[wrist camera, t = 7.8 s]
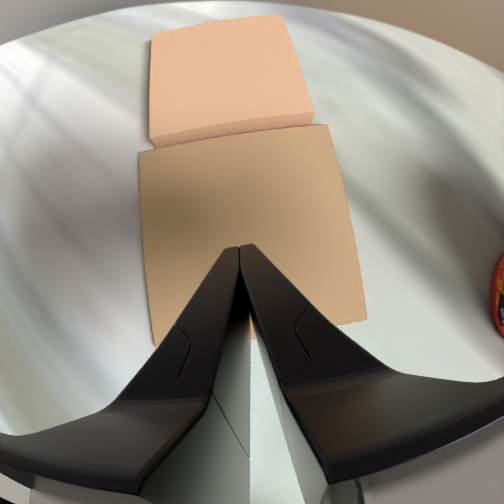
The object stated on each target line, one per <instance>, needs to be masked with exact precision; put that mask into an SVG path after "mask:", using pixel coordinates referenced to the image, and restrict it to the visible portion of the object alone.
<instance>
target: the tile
mask: <svg viewBox="0 0 504 504" xmlns="http://www.w3.org/2000/svg"><path fill="white" fill-rule="evenodd" d="M313 115H314V109H313V106H312V103H311V99H310V96H309V93H308V90H307V86H306V83H305V80H304V77H303V74H302V71H301V68H300V65H299V62H298V59H297V56H296V53H295V50H294V48H293V45H292V42H291V39H290V37H289V34H288V31H287V28H286V26H285V23H284V20H283V18H282V15H281V14H276V15H263V16H253V17H244V18H236V19H229V20H222V21H216V22H210V23H204V24H199V25H194V26H189V27H184V28H180V29H176V30H171V31H167V32H163V33H159V34H155V35H152V43H151V62H150V94H149V138H150V140H151V141H152V143H153V144H154V146H155V147H156V149H159V148H163V147H168V146H172V145H177V144H182V143H187V142H192V141H197V140H202V139H208V138H213V137H219V136H225V135H231V134H237V133H244V132H251V131H258V130H265V129H273V128H281V127H290V126H300V125H310V124H311V123H312V119H313Z"/></svg>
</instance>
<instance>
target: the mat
mask: <svg viewBox="0 0 504 504" xmlns="http://www.w3.org/2000/svg"><path fill="white" fill-rule="evenodd" d="M139 182H140V208H141V226H142V240H143V253H144V264H145V274H146V284H147V293H148V301H149V309H150V317H151V324H152V331H153V338H154V344H155V350H156V349H157V348H158V346H159V345H160V343H161V342H162V340H163V339H164V338H165V336H166V335H167V333H168V332H169V330H170V329H171V327H172V326H173V325H175V321H176V320H177V318H178V317H179V315H180V314H181V312H182V311H183V309H184V308H185V306H186V305H187V303H188V302H189V300H190V299H191V297H192V296H193V294H194V293H195V291H196V290H197V288H198V287H199V285H200V284H201V282H202V281H203V279H204V278H205V276H206V275H207V273H208V272H209V270H210V269H211V267H212V266H213V264H214V263H215V261H216V260H217V259H218V257H219V256H220V254H221V253H222V251H223V250H224V249H225V248H227V247H233V246H238V247H239V248H240V246H241V245H245V244H251V243H253V244H255V245H256V246H257V247H258V248H259V249H260V250H261V251H262V252H263V254H264V255H265V256H266V257H267V258H268V259H269V260H270V261H271V262H272V263H273V264H274V265H275V266H276V267H277V268H278V269H279V270H280V271H281V272H282V273H283V274H284V275H285V276H286V277H287V278H288V279H289V280H290V281H291V282H292V283H293V284H294V285H295V286H296V288H297V289H298V290H299V291H300V292H301V293H302V294H303V295H304V296H305V297H306V298H307V299H308V300H309V301H310V302H311V304H313V305H314V306H315V307H316V308H317V309H318V310H319V311H320V312H321V313H322V314H323V315H324V316H325V317H326V318H327V319H328V320H329V321H330V322H331V323H332V324H334V325H335V326H337V325H342V324H347V323H352V322H357V321H362V320H367V311H366V304H365V297H364V290H363V284H362V277H361V271H360V265H359V260H358V254H357V248H356V243H355V238H354V233H353V228H352V223H351V218H350V213H349V208H348V204H347V199H346V195H345V191H344V186H343V182H342V178H341V174H340V170H339V166H338V162H337V158H336V154H335V150H334V146H333V143H332V139H331V135H330V132H329V128H328V125H327V124H325V125H312V126H301V127H291V128H281V129H272V130H264V131H256V132H249V133H242V134H235V135H229V136H222V137H216V138H210V139H205V140H199V141H194V142H188V143H183V144H178V145H173V146H169V147H164V148H159V149H155V150H150V151H146V152H142V153H139ZM250 322H251V339H256V336H255V332H254V329H253V325H252V321H251V316H250Z"/></svg>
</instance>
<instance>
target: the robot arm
mask: <svg viewBox="0 0 504 504" xmlns="http://www.w3.org/2000/svg"><path fill="white" fill-rule="evenodd" d="M250 316H251V321H252V325H253V329H254V332H255V336H256V339H257V343H258V346H259V350H260V353H261V357H262V360H263V364H264V367H265V371H266V374H267V378H268V381H269V385H270V388H271V392H272V395H273V398H274V402H275V405H276V409H277V412H278V415H279V419H280V422H281V426H282V429H283V432H284V436H285V439H286V442H287V446H288V449H289V452H290V456H291V459H292V462H293V466H294V469H295V472H296V475H297V479H298V482H299V485H300V488H301V492H302V495H303V498H304V501H305V504H504V377H501V378H499V379H496V380H493V381H488V382H479V383H474V382H462V381H453V380H445V379H438V378H430V377H423V376H417V375H410V374H405V373H401V372H398V371H396V370H394V369H392V368H390V367H388V366H386V365H385V364H383V363H382V362H381V361H379V360H378V359H377V358H375V357H374V356H373V355H371V354H370V353H369V352H368V351H366V350H365V349H364V348H362V347H361V346H360V345H359V344H357V343H356V342H355V341H353V340H352V339H351V338H350V337H348V336H347V335H346V334H344V333H343V332H342V331H341V330H340V329H338V328H337V327H336V326H335V325H334V324H332V323H331V322H330V321H329V320H328V319H327V318H326V317H325V316H324V315H323V314H322V313H321V312H320V311H319V310H318V309H317V308H316V307H315V306H314V305H313V304H311V302H310V301H309V300H308V299H307V298H306V297H305V296H304V295H303V294H302V293H301V292H300V291H299V290H298V289H297V288H296V286H295V285H294V284H293V283H292V282H291V281H290V280H289V279H288V278H287V277H286V276H285V275H284V274H283V273H282V272H281V271H280V270H279V269H278V268H277V267H276V266H275V265H274V264H273V263H272V262H271V261H270V260H269V259H268V258H267V257H266V256H265V255H264V254H263V252H262V251H261V250H260V249H259V248H258V247H257V246H256V245H255V244H253V243H251V244H245V245H241V246H240V248H239V247H238V246H233V247H227V248H225V249H224V250H223V251H222V253H221V254H220V256H219V257H218V259H217V260H216V261H215V263H214V264H213V266H212V267H211V269H210V270H209V272H208V273H207V275H206V276H205V278H204V279H203V281H202V282H201V284H200V285H199V287H198V288H197V290H196V291H195V293H194V294H193V296H192V297H191V299H190V300H189V302H188V303H187V305H186V306H185V308H184V309H183V311H182V312H181V314H180V315H179V317H178V318H177V320H176V321H175V325H173V326H172V327H171V329H170V330H169V332H168V333H167V335H166V336H165V338H164V339H163V340H162V342H161V343H160V345H159V346H158V348H157V349H156V350H155V351H154V353H153V354H152V355H151V357H150V358H149V359H148V360H147V362H146V363H145V364H144V365H143V367H142V368H141V369H140V370H139V371H138V373H137V374H136V375H135V376H134V377H133V379H132V380H131V381H130V382H129V383H128V385H127V386H126V387H125V388H124V389H123V391H122V392H121V393H120V394H119V396H118V397H117V398H116V399H115V400H114V401H113V402H112V403H111V404H110V405H108V406H107V407H106V408H104V409H102V410H101V411H99V412H96V413H94V414H91V415H88V416H86V417H83V418H80V419H77V420H74V421H71V422H68V423H65V424H62V425H59V426H56V427H53V428H50V429H47V430H43V431H40V432H37V433H33V434H28V435H21V436H13V435H7V434H4V433H0V473H2V474H3V475H5V476H7V477H9V478H11V479H13V480H14V481H16V482H18V483H20V484H22V485H24V486H26V487H28V488H30V489H31V495H30V502H29V504H249V491H250V460H249V458H250V342H251V322H250ZM0 504H14V503H12V502H10V501H7V500H5V499H3V498H1V497H0Z"/></svg>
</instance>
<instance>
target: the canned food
mask: <svg viewBox="0 0 504 504" xmlns="http://www.w3.org/2000/svg"><path fill="white" fill-rule="evenodd" d="M491 304H492V311H493V316H494V320H495V323H496V325H497V328H498V330H499V332H500V333H501V335H502V336H503V337H504V254H503V255H502V256H501V257H500V259H499V261H498V263H497V265H496V268H495V271H494V274H493V280H492V288H491Z"/></svg>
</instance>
